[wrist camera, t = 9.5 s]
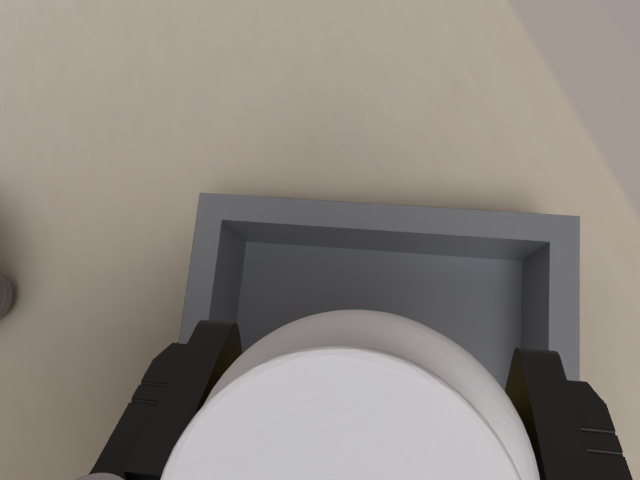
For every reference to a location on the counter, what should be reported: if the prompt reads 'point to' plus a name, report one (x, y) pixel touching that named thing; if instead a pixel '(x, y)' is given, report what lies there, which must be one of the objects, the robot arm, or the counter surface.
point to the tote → (390, 271)
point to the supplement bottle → (355, 409)
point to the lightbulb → (5, 295)
